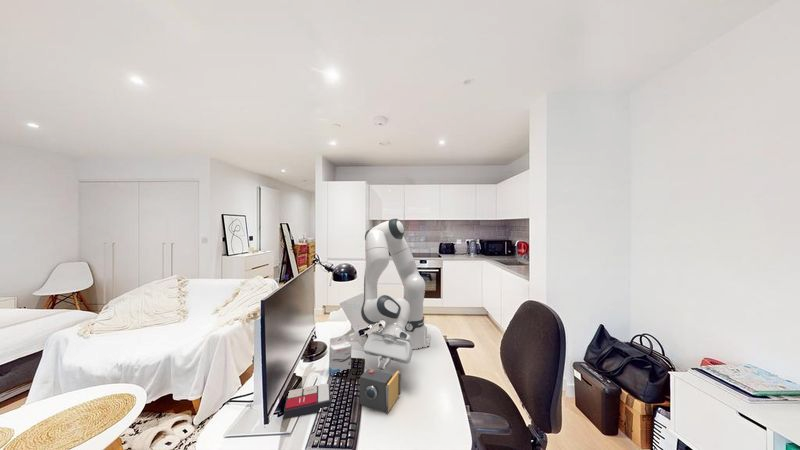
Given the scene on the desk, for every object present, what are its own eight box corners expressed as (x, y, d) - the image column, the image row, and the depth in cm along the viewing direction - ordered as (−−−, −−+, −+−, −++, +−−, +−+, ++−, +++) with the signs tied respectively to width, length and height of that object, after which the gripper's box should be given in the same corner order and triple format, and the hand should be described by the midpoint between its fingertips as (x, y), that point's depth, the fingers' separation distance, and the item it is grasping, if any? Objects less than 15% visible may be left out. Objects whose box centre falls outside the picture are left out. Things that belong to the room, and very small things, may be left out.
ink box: (332, 377, 112) (333, 342, 112) (328, 372, 116) (329, 338, 117) (351, 371, 117) (352, 338, 117) (347, 366, 121) (347, 334, 121)
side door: (396, 394, 100) (397, 370, 101) (400, 395, 100) (400, 371, 100) (384, 412, 90) (385, 386, 90) (388, 414, 90) (389, 387, 90)
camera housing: (367, 395, 100) (368, 367, 101) (391, 402, 97) (392, 372, 97) (357, 407, 93) (358, 377, 94) (383, 415, 90) (383, 383, 90)
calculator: (287, 389, 98) (329, 381, 102) (288, 401, 98) (330, 392, 102) (283, 408, 88) (330, 398, 92) (284, 421, 88) (331, 411, 92)
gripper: (368, 327, 114) (355, 360, 105) (413, 336, 106) (403, 372, 97) (372, 334, 118) (360, 366, 109) (416, 343, 110) (407, 379, 101)
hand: (381, 369), depth 103 cm, fingers closed
